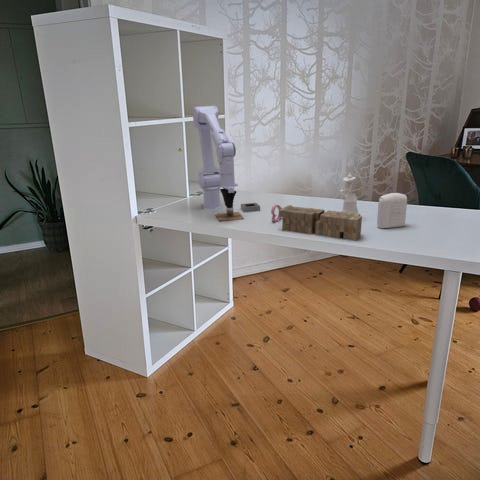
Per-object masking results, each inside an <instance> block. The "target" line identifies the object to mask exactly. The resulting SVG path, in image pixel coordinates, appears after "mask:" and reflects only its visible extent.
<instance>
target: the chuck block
mask: <svg viewBox="0 0 480 480" xmlns="http://www.w3.org/2000/svg"><path fill="white" fill-rule="evenodd" d="M240 209H241V211H243V213H252V212H261V205H260V204H258V203H257V202H250V203H249V202H248V203H247V202H246V203H241V204H240Z"/></svg>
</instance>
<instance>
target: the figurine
mask: <svg viewBox="0 0 480 480" xmlns="http://www.w3.org/2000/svg"><path fill="white" fill-rule="evenodd" d="M355 179H356V176H353V175H352V173H351V172H349V173H347V175H346V176H345V177H344V178H343V179H342V180H343V181H344V182H346V183H347V184H346V185H345V189H339V192H346V193H344V196H343V198H342V199H341V200H342V201H343V204H342V205H343V206H342V211H341V212H348V213H356V214H357V213H358V214H360V212H359V211H358V206H357V200H359V198H358V197H357V195H356V194H355V193H353V192H352V190H353V185H354V184H353V182H354V181H355Z"/></svg>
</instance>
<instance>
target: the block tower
mask: <svg viewBox="0 0 480 480" xmlns="http://www.w3.org/2000/svg"><path fill="white" fill-rule="evenodd" d="M281 208H282V209H280V210H278V214H279V217H281V219H282V220H281V221H282V225H281V227H282V228H281V229H282V231H286V232H293V233H298V234H299V233H300V234H308V235H313V234H314V233H315V234H314V235H316V236H319V237H320V236H322V237H329V238H334V239H335V238H336V239H341V237H343V238H342V239H343V240H347V241H355V242H356V241H357V240H359V239H361V234H362V220H363V216H362V215H361V214H360V213H359V212H358V213H359V214H358V213H357V214H356V213H348V212H342V211H338V210H337V211H336V210H327V211H325V209H321V208H312V207H300V206H293V205H291V204H288V205H286V206H284V207H281Z"/></svg>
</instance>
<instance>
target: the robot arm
mask: <svg viewBox="0 0 480 480" xmlns="http://www.w3.org/2000/svg"><path fill="white" fill-rule="evenodd" d="M219 116H220V115H219V108H218V107H217V106H216V105H205V106H194V107H193V109H192V119H193V125H194V127H195V128H196V129H198V130H197V131H198V135H199V142H200V143H199V144H200V148H201V149H200V150H201V156H202V164H203V167H201V169H200V170H199V171H198V185H199V187H200V189H201V190H203V193H202V194H203V204H202V205H201V206H202V208H203V210H204V211H209V210H211V211H212V210H220V209H223V206H222V205H221V195H222V199H223V202H224V206H225V207H226V206H227V208H232V206H233V207H234V200H235V196H236V194H237V190H235V188H236V187H238V184H239V183H237V182H236V183H235V159H234V158H235V156H236V153H237V152H236V150H237V149H236V145H235V143H234V142H233V141H232V140H230V139H229V138H228V135H227V133H226V132H225V130H224V129H223V128H221V126H220V123H219V120H218V119H219ZM212 141H213V142H212ZM212 143H214V145H215V147H216V149H215V151H216V152H215V153H216V156H217V162H218V163H219V164H218V165H219V166H218V167H217V166H216V165H215V158H214V150H213V144H212ZM220 193H221V195H220Z"/></svg>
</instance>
